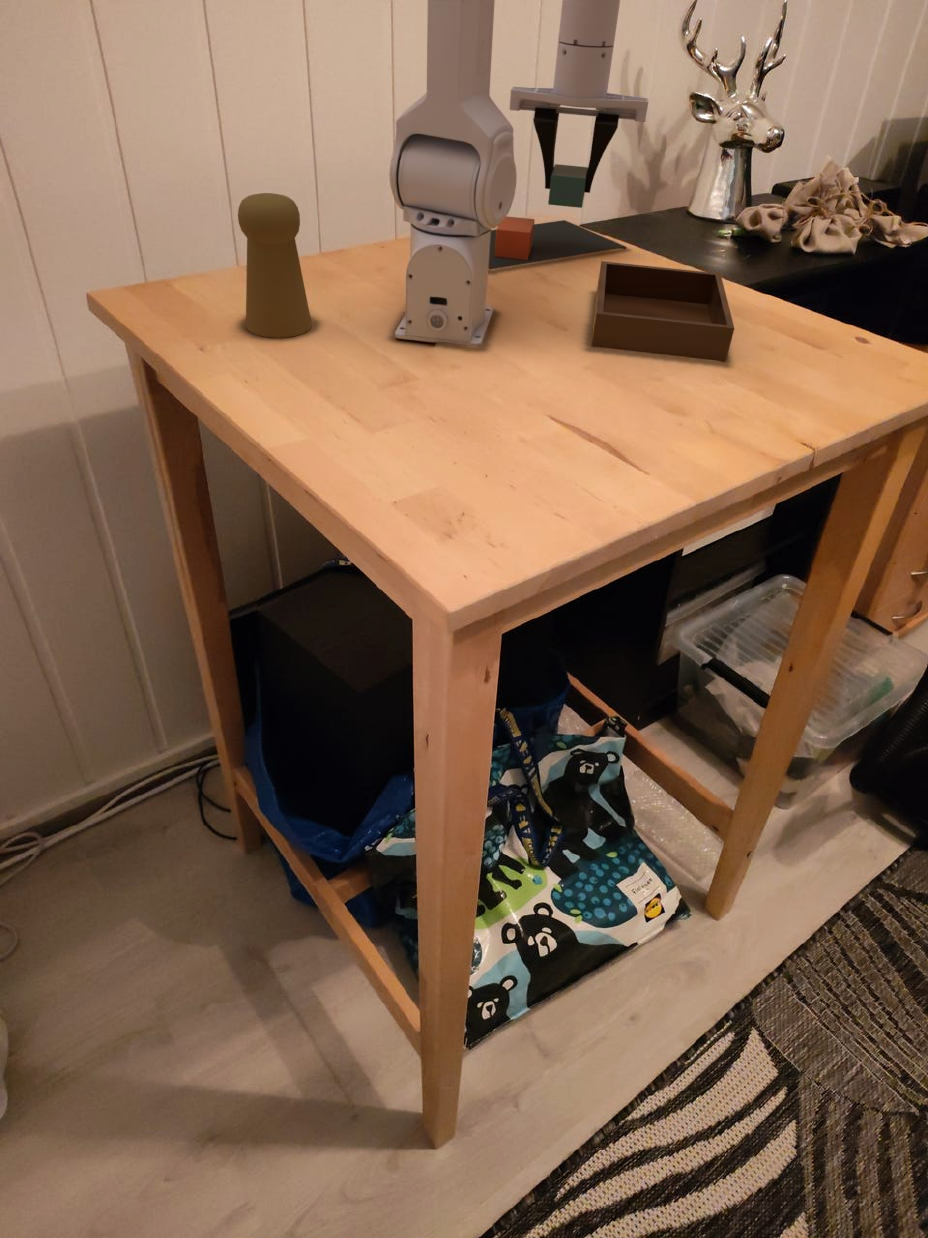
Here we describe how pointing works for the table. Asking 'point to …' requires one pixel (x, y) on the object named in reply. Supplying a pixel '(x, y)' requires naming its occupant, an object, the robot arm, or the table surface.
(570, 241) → the mat
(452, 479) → the table surface
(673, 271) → the brown open tray
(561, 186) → the block
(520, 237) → the block
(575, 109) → the robot arm
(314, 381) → the table surface
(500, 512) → the table surface
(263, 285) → the cork
